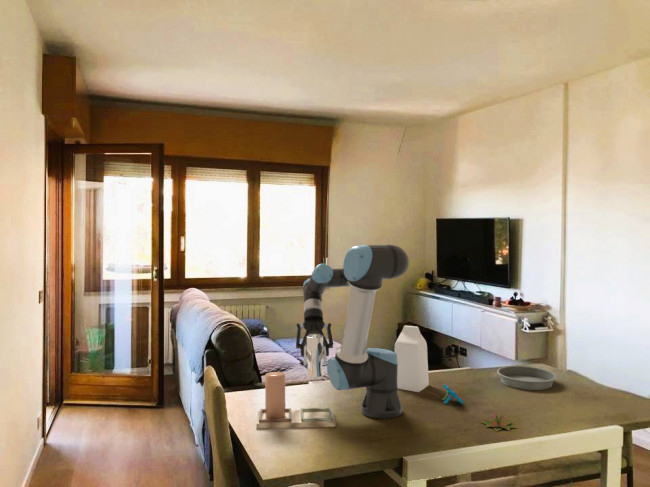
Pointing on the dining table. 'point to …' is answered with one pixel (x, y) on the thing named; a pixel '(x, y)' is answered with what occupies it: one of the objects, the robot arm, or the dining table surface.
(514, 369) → the cake pan
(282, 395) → the tan tall block
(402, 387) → the milk
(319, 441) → the dining table surface
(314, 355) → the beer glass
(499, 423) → the lily flower
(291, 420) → the board
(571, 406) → the dining table surface
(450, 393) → the toy gun
